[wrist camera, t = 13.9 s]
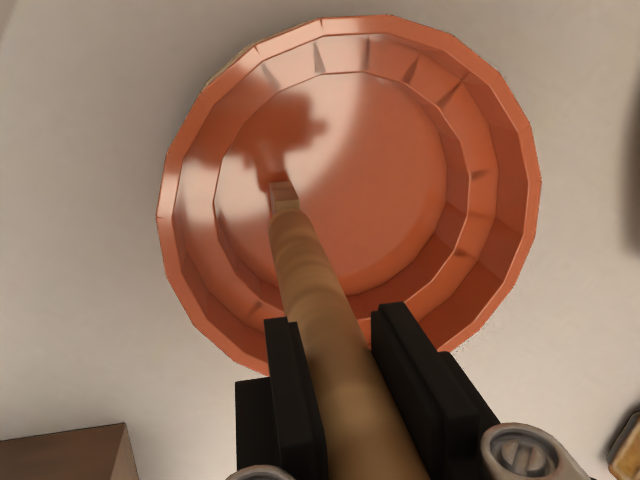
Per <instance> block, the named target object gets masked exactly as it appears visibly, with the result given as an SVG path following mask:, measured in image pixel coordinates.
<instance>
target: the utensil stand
mask: <svg viewBox="0 0 640 480" xmlns="http://www.w3.org/2000/svg"><path fill="white" fill-rule="evenodd" d="M0 480H139V479H138V475H137V471H136V466H135V462H134V458H133V454H132V449H131V445H130V441H129V437H128V432H127V428H126V424H125V423H122V424H115V425H109V426H102V427H95V428H88V429H82V430H75V431H68V432H61V433H55V434H48V435H41V436H34V437H28V438H21V439H14V440H7V441H1V442H0Z"/></svg>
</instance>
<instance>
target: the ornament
mask: <svg viewBox="0 0 640 480" xmlns="http://www.w3.org/2000/svg"><path fill="white" fill-rule="evenodd" d="M607 462H608V466H609V467H608V468H609V471H610V473H611V474H612V475H613V476H614V477H615V478H616V479H617V480H640V413H639V412H637V413H634V414H633V415H632V416H631V418H630V419H629V421H628V423H627V424H626V426H625V428H624V429H623V431H622V432H621V434H620V435H619V437H618V438H617V440H616V441H615V443H614V445H613V447H612V448H611V450H610V452H609V454H608V455H607Z"/></svg>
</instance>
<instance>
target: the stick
mask: <svg viewBox="0 0 640 480" xmlns="http://www.w3.org/2000/svg"><path fill="white" fill-rule="evenodd" d="M269 186H270V197H271V208H272V218H271V219H270V221H269V223H268V229H267V231H268V237H269V242H270V247H271V251H272V256H273V261H274V266H275V270H276V275H277V280H278V284H279V289H280V294H281V299H282V303H283V308H284V313H285V316H287V319H288V322H295V321H297V323H298V327H299V331H300V335H301V339H302V343H303V347H304V351H305V355H306V359H307V363H308V367H309V372H310V376H311V380H312V384H313V388H314V392H315V396H316V400H317V404H318V408H319V412H320V416H321V420H322V424H323V428H324V433H325V438H326V445H327V455H328V471H329V480H431V478H430V476H429V474H428V472H427V470H426V468H425V465H424V463H423V461H422V459H421V457H420V455H419V452H418V450H417V448H416V446H415V444H414V442H413V440H412V437H411V435H410V433H409V431H408V429H407V427H406V425H405V422H404V420H403V418H402V416H401V414H400V412H399V410H398V407H397V405H396V403H395V401H394V399H393V397H392V395H391V392H390V390H389V388H388V386H387V384H386V382H385V380H384V377H383V375H382V373H381V371H380V369H379V367H378V364H377V362H376V360H375V358H374V356H373V354H372V352H371V349H370V347H369V345H368V343H367V341H366V339H365V337H364V334H363V332H362V330H361V328H360V326H359V324H358V322H357V319H356V317H355V315H354V313H353V311H352V309H351V307H350V304H349V302H348V300H347V298H346V296H345V294H344V292H343V289H342V287H341V285H340V283H339V281H338V279H337V277H336V274H335V272H334V270H333V268H332V266H331V264H330V262H329V259H328V257H327V255H326V253H325V251H324V249H323V247H322V244H321V242H320V240H319V238H318V236H317V234H316V232H315V229H314V227H313V225H312V223H311V221H310V219H309V217H308V216H307V215H306V214H305V213H304V212H303V211H301V210H300V200H299V197H298V195H297V193H296V191H295V189H294V187H293V184H292V182H291V181H284V182H273V183H270V184H269Z"/></svg>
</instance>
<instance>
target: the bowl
mask: <svg viewBox="0 0 640 480" xmlns="http://www.w3.org/2000/svg"><path fill="white" fill-rule="evenodd" d="M541 179H542V178H541V173H540V168H539V163H538V158H537V153H536V148H535V143H534V138H533V133H532V128H531V125H530V122H529V121H528V119H527V117H526V115H525V114H524V112H523V110H522V109H521V107H520V105H519V104H518V102H517V100H516V99H515V97H514V95H513V94H512V92H511V90H510V89H509V87H508V85H507V83H506V82H505V80H504V78H503V77H502V75H501V74H500V73H499V72H498V71H497V70H496V69H494V68H493V67H492V66H491V65H489V64H488V63H487V62H486V61H485V60H483V59H482V58H481V57H480V56H478V55H477V54H476V53H475V52H473V51H472V50H471V49H470V48H468V47H467V46H466V45H465V44H463V43H462V42H461V41H460V40H458V39H457V38H456V37H455V36H453V35H451V34H449V33H446V32H443V31H440V30H437V29H434V28H431V27H428V26H424V25H421V24H418V23H415V22H412V21H409V20H406V19H403V18H400V17H397V16H393V15H388V14H386V15H364V16H341V17H322V18H317V19H314V20H310V21H306V22H303V23H300V24H297V25H295V26H292V27H290V28H287V29H285V30H283V31H280V32H278V33H275V34H273V35H270V36H268V37H266V38H263V39H261V40H258V41H256V42H253V43H251V44H249V45H248V46H246V47H245V48H244V49H243V50H242V51H241V52H240V53H238V54H237V55H236V56H235V57H234V58H233V59H232V60H231V61H229V62H228V63H227V64H226V65H225V66H224V67H223V68H222V69H220V70H219V71H218V72H217V73H216V74H215V75H214V76H213V77H211V78H210V79H209V80H208V81H207V82H206V84H205V85H204V87H203V88H202V90H201V92H200V94H199V95H198V97H197V99H196V101H195V102H194V104H193V106H192V108H191V110H190V111H189V113H188V115H187V117H186V119H185V120H184V122H183V124H182V126H181V127H180V129H179V131H178V133H177V135H176V136H175V138H174V140H173V142H172V144H171V145H170V147H169V149H168V151H167V154H166V158H165V164H164V169H163V175H162V181H161V187H160V193H159V198H158V204H157V210H156V223H157V228H158V234H159V240H160V246H161V251H162V257H163V263H164V268H165V274H166V278H167V279H168V281H169V283H170V285H171V287H172V288H173V290H174V292H175V294H176V295H177V297H178V299H179V301H180V302H181V304H182V306H183V308H184V309H185V311H186V313H187V315H188V316H189V318H190V320H191V322H192V323H193V325H194V326H195V327H196V328H197V329H198V330H199V331H200V332H201V333H202V334H204V335H205V336H206V337H207V338H208V339H209V340H210V341H212V342H213V343H214V344H215V345H216V346H217V347H218V348H219V349H221V350H222V351H223V352H224V353H225V354H226V355H227V356H229V357H230V358H231V359H232V360H233V361H234V362H236V363H238V364H240V365H243V366H245V367H247V368H250V369H252V370H254V371H256V372H259V373H261V374H263V375H266V376H268V377H269V368H268V358H267V349H266V340H265V331H264V321H263V319H270V318H278V317H285V313H284V308H283V303H282V299H281V294H280V289H279V284H278V280H277V275H276V270H275V266H274V261H273V256H272V251H271V247H270V242H269V237H268V231H267V229H268V223H269V221H270V219H271V218H272V208H271V197H270V186H269V184H270V183H273V182H284V181H291V182H292V184H293V187H294V189H295V191H296V193H297V195H298V197H299V200H300V210H301V211H303V212H304V213H305V214H306V215H307V216H308V217H309V219H310V221H311V223H312V225H313V227H314V229H315V232H316V234H317V236H318V238H319V240H320V242H321V244H322V247H323V249H324V251H325V253H326V255H327V257H328V259H329V262H330V264H331V266H332V268H333V270H334V272H335V274H336V277H337V279H338V281H339V283H340V285H341V287H342V289H343V292H344V294H345V296H346V298H347V300H348V302H349V304H350V307H351V309H352V311H353V313H354V315H355V317H356V319H357V322H358V324H359V326H360V328H361V330H362V332H363V334H364V337H365V339H366V341H367V343H368V345H369V347H370V349H371V312H372V311H378V306H379V304H384V303H392V302H400V301H403V302H404V303H405V304H406V306H407V307H408V309H409V310H410V312H411V313H412V315H413V316H414V318H415V319H416V321H417V322H418V323H419V325H420V326H421V328H422V329H423V331H424V332H425V334H426V335H427V337H428V338H429V340H430V341H431V343H432V344H433V346H434V347H435V349H436V350H437V351H438V352H442V351H447V352H449V353H450V352H451V351H453V350H454V349H455V348H456V347H458V346H459V345H460V344H462V343H463V342H464V341H466V340H467V339H468V338H470V337H471V336H472V335H473V334H475V333H476V332H477V331H479V330H480V328H482V326H483V325H484V324H485V322H486V321H487V320H488V319H489V317H490V316H491V315H492V314H493V312H494V311H495V310H496V308H497V307H498V306H499V305H500V303H501V302H502V301H503V300H504V298H505V297H506V296H507V294H508V293H509V292H510V291H511V289H512V288H513V286H514V285H515V283H516V281H517V278H518V276H519V274H520V271H521V269H522V267H523V264H524V262H525V260H526V257H527V255H528V253H529V250H530V248H531V245H532V243H533V241H534V238H535V235H536V227H537V218H538V210H539V201H540V192H541V184H542V181H541Z"/></svg>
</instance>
